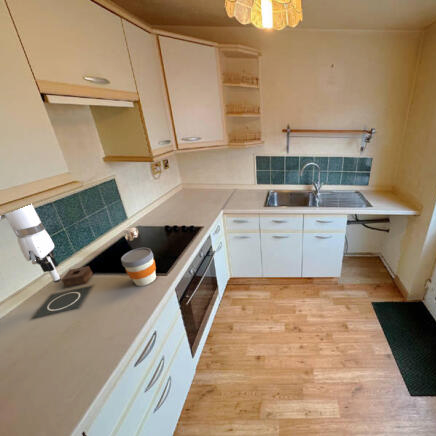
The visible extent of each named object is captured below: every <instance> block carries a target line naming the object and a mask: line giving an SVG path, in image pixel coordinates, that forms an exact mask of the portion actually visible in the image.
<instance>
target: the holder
mask: <svg viewBox="0 0 436 436" xmlns="http://www.w3.org/2000/svg"><path fill="white" fill-rule="evenodd" d="M92 275H93V271H92V269H91V268H90V265H87V266H82V267H81V266H80V267H77V268H72V269H69V270H68V271H67V272H66V273H65V275H64V276H63V277H62V278H61V282H62V284H63V285H64V288H70V287H73V286H80V285H84V284H87V283H88V281H89V280H90V279H91V277H92Z"/></svg>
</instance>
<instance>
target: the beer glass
mask: <svg viewBox="0 0 436 436" xmlns="http://www.w3.org/2000/svg"><path fill="white" fill-rule="evenodd" d="M123 235H124V238H125V240H126V242H127V244H128V246H129V247H130V249H131V250H134V249H138V248H144V247H143V244H142V238H141V234H140V231H139V229H138V227H133V226H132V227H128V228H126V229H124V230H123Z"/></svg>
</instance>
